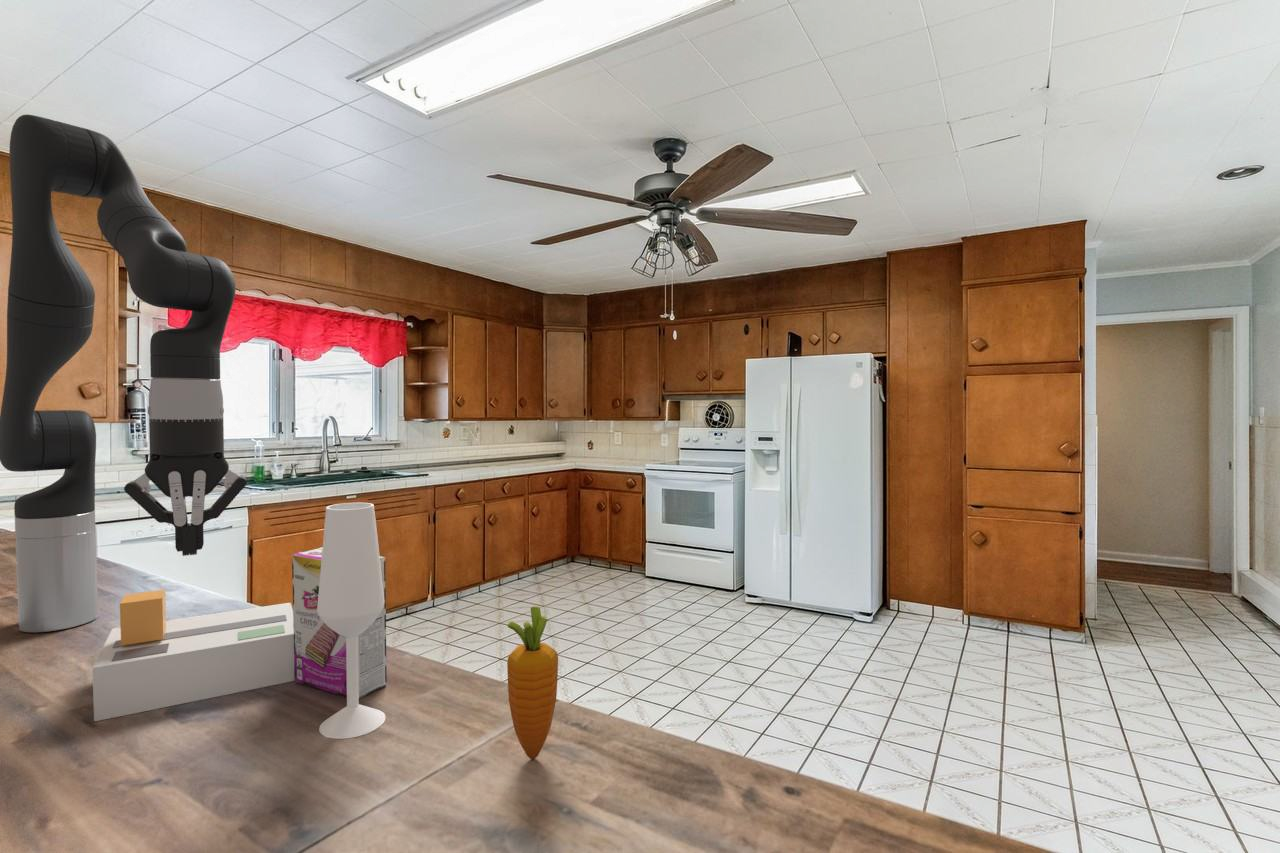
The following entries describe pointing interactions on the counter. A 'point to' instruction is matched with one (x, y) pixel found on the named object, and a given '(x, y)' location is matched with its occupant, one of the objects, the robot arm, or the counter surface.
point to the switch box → (195, 661)
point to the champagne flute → (350, 602)
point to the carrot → (532, 684)
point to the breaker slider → (143, 617)
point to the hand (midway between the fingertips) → (189, 553)
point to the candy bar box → (331, 636)
